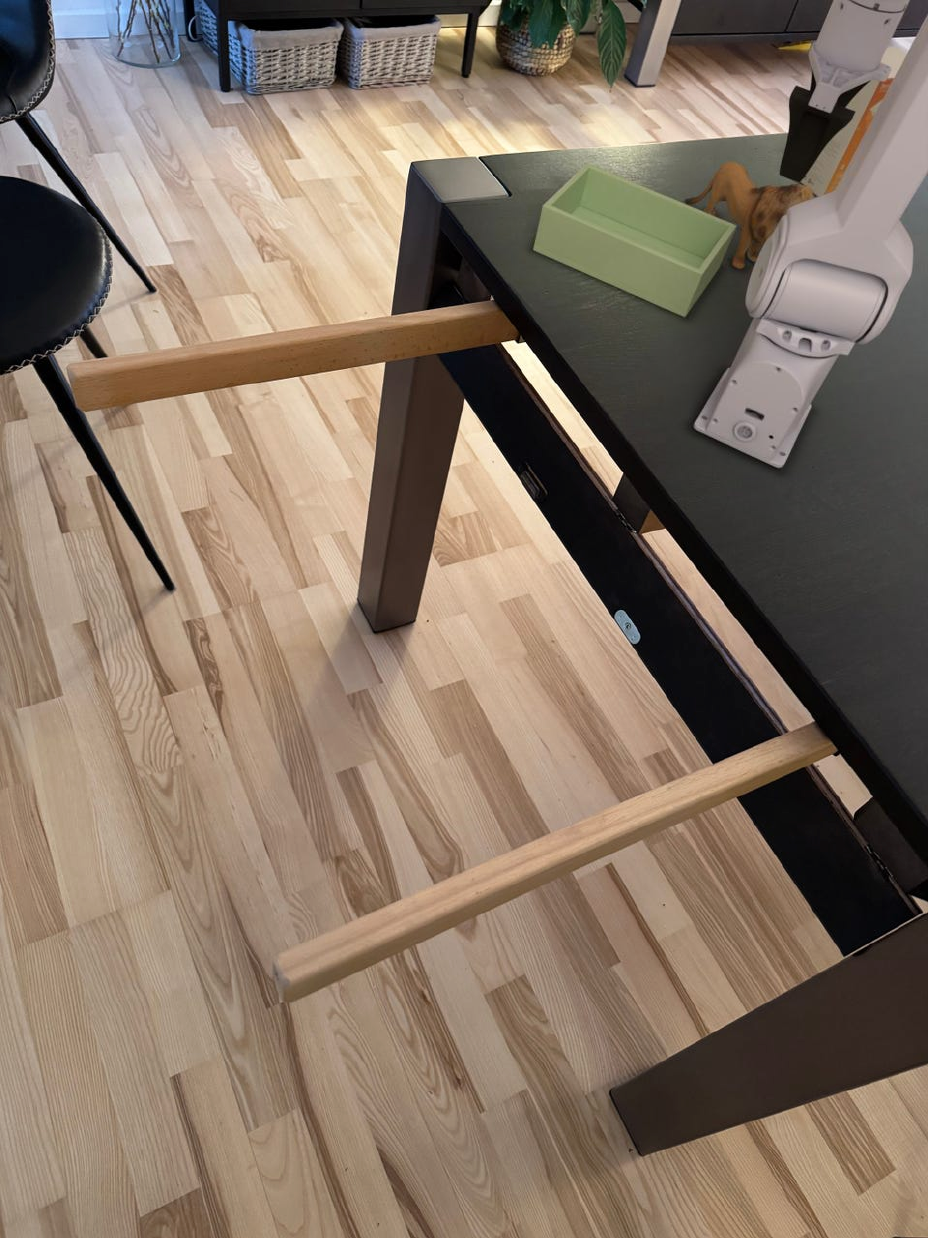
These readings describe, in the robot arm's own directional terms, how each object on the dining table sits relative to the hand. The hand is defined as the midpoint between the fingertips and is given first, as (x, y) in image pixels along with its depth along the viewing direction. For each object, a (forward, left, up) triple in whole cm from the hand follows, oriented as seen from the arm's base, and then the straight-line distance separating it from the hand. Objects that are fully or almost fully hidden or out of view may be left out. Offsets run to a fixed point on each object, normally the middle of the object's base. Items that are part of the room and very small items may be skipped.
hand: (799, 160), depth 85 cm
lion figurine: (-1, +2, -10) cm, 10 cm away
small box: (+20, -3, -10) cm, 22 cm away
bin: (-11, +10, -10) cm, 18 cm away
